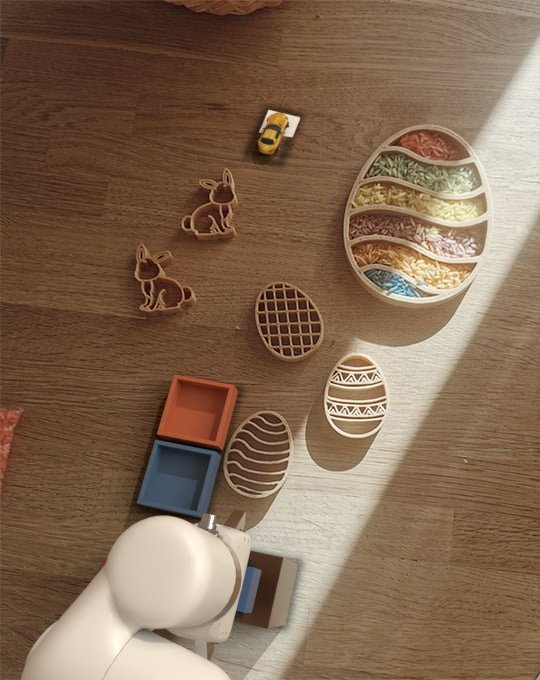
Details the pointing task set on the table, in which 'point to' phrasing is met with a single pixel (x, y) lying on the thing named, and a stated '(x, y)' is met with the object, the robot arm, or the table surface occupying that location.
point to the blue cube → (248, 590)
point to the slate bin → (179, 479)
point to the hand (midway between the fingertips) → (235, 586)
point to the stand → (271, 591)
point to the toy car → (276, 131)
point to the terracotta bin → (198, 412)
